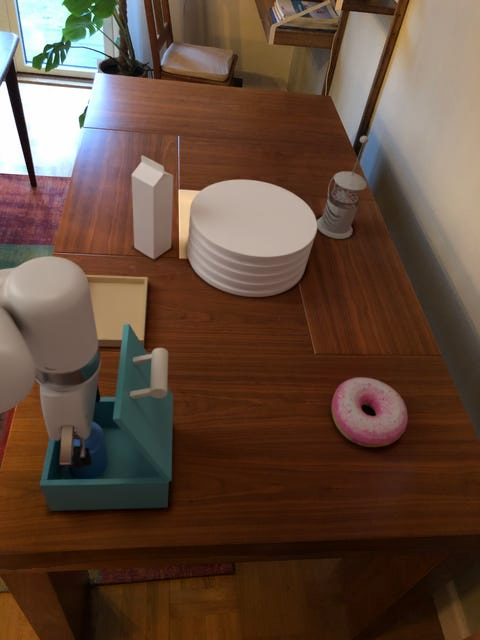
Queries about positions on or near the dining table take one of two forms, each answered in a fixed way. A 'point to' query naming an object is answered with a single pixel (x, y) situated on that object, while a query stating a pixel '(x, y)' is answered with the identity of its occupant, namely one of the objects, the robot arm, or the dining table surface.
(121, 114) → the dining table surface
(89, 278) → the tray
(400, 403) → the donut
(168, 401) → the lid
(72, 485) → the teal wooden box
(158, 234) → the milk
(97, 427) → the bottle
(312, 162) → the dining table surface
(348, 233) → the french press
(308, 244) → the plate stack
